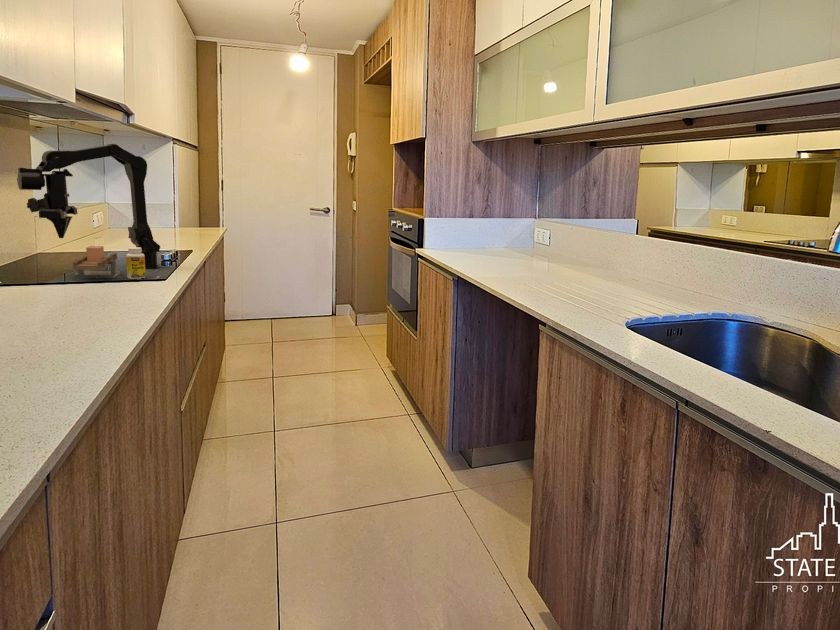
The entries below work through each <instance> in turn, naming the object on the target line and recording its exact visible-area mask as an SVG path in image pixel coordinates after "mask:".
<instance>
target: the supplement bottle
mask: <svg viewBox="0 0 840 630" xmlns="http://www.w3.org/2000/svg"><path fill="white" fill-rule="evenodd" d="M127 248H128V249H127V251H128V253H127V254H126V255H125V258H126V259H125V260H126V276H127V278H128V279H129V280H134V279H137V280H142V279H141V278H144V279H145V278H147V277H146V268H145V256H144V254H143V253H142V249H141V248H140V247H136V246H133V247H132V246H131V247H127Z"/></svg>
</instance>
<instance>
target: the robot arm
mask: <svg viewBox="0 0 840 630" xmlns="http://www.w3.org/2000/svg"><path fill="white" fill-rule="evenodd" d="M108 157H111V158H113V159H114V160H116V161H117V162H118V163H120V164H121V165H122V166H123V167H124V171H125V175H126V176H127V177H126V178H127V179H128V181H129V186H130V196H131V197H130V198H131V199H130V200H131V207H132V208H131V209H132V217H133V223H132V226H128V227H127V229H128V239H130V242H131V243H132V244H133V245H134V246H135V247H140V248H141V249H142V253H143V254H144V256H145V269H158V268H159V267H161V265H160V264H158V253H157V252H160V251H161V245H160V244H158V242H156V240H154V237H153V233H152V230H151V227H150V225H149V223H148V215H147V214H148V213H147V206H146V205H147V204H146V202H147V201H146V191H145V180H146V177H147V174H148V173H147V171H148V163H147V160H146V159H145V158H144V157H142V156H138V155H135V154H133V153H131V152H130V151H127V150H126V149H124V148H122V147H120V145H118V144H115V143H108V144H106V145H99V146H93V147H87V148H80V149H75V150H47V151H44V152H43V153H42V156H41V161H40V162H39V164H38V165H37V166H36V168H25V167H18V168H17V170H18V172H17V177H16V182H17V186H18V189H19V190H20V191H22V190H23V191H42V189H43V188H44V187H46V192H45V193H44V194H43V198H39V199H36V197H31V198H28V199H27V202H26V209H29V211H30V212H31V213H37V212H38V218H39V219H47V220H48V221H50V222H51V223H52V224H53V227H54V228H55V231H56V233H57V236H58V238H59V239H63V238H64V237H65V235H66V232H67V230H68V228H69V225H70V223H71V221H72V219H73V216H70V215H75V216H76V215H78V208H77V207H75V205H69V200H68V199H69V197H70V193H68V189H67V187H68V186H67V177H71V178H72V177H74V175H73V174H72V173H71V172H70V171H69V170H68V169H67V168H68V166H69V167H70V166H72V165H74V164H76V163H78V162H79V163H80V162H85V161H91V160H96V159H97V160H98V159H101V158H102V159H103V158H108ZM66 167H67V168H66ZM61 169H63V170H61ZM50 172H51V173H50ZM68 215H69V216H68Z"/></svg>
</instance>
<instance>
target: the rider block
mask: <svg viewBox="0 0 840 630" xmlns="http://www.w3.org/2000/svg"><path fill="white" fill-rule="evenodd" d="M104 248H105V247H104V245H90V246H87V247H86V248H85V250H86V255H87V261H95V262H99V261H101V260H103V259H104V256H105V249H104Z"/></svg>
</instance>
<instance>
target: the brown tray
mask: <svg viewBox="0 0 840 630" xmlns="http://www.w3.org/2000/svg"><path fill="white" fill-rule="evenodd" d="M116 260H118V253H117V252H112V253H111V254H109V255H104V259H103V260H101V261H99V262H95V261H87V254H86V255H84V256H82V257H80V258H79V259H77V260H75V261H73V262H72V267H73V268H72V270H77V269H84V270H91V271H103V269H105V268H106V267H108V266H109V265H110V261H116Z"/></svg>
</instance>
